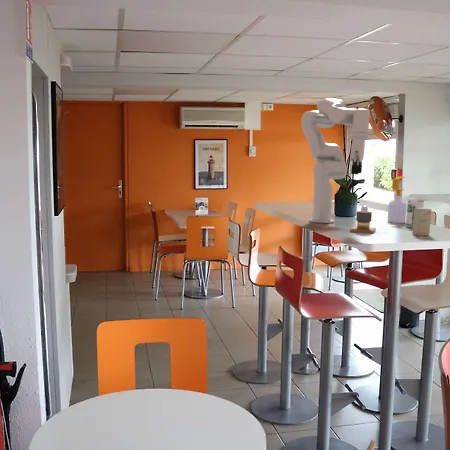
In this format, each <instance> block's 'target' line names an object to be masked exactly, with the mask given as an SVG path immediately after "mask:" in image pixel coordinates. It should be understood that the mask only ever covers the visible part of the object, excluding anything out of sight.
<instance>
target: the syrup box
mask: <svg viewBox="0 0 450 450" xmlns="http://www.w3.org/2000/svg"><path fill="white" fill-rule="evenodd" d="M424 205H425V199H422V198H415V197H409V198H407V204H406V218H405V227H406V228H412V229H413V220H414V208H424Z"/></svg>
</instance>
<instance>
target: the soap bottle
mask: <svg viewBox="0 0 450 450" xmlns="http://www.w3.org/2000/svg"><path fill="white" fill-rule="evenodd" d="M404 178H405V176H401V175H400V176H396V177H394V178H393V179H392V183H391V184H392V185H391V188H392V190H394V191H395V192H396V194H394V198H393V199H392V200H390V201H389V203H388V210H387V222H388V223H391V224H393V223H394V224H406V216H407V203H406V201H405V200H403V199H402V196H403V195H402V194H401V192H402V191H405V189H403V188H399V183H400V180H402V179H404Z"/></svg>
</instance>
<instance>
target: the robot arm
mask: <svg viewBox="0 0 450 450" xmlns="http://www.w3.org/2000/svg"><path fill="white" fill-rule="evenodd" d="M370 114H371V111H370V109H368V108H350V107H349V108H347V106H346V103H345V102H344V100H342V99H338V98H323V99H320V100H319V101H318V103H316V110H307V111H305V112H303V114H302V116H301V120H300V121H301V122H300V123H301V129H302V132H303V135H304V136H305V138H306V140H307V143H308V147H309V150H310V154H311V158H312V159H313V160H314V161H315V163H314V164H313V166H312V167H313V168H312V173H313V201H312V202H313V203H312V217H311V218H309V220H308V221H309V222H311V223H316V224H317V223H319V224H332V223H334V222H335V220H334V219H332V211H333V210H332V208H333V185H332V182H331V180H342V179H344V178H346V176H347V172H348V169H347V164H346V160H345V157H344V154H343V150H342V149H341V147H340V145H338V144H336V143H328V142H326V140H325V138H324V135H323V133H322V132H321V130H319V129H318V128H324V129H326V128H327V129H328V128H332V127H334V126H335V125H345V126H346V125H347V126H351V132H350V140H352V142H351V149H350V156H349V160H350V161H352V162H351V163H352V164H351V168H350V174H351V175H359V174H362V171H363V170H362V168H363V161H364V157H365V156H364V155H365V148H366V147H365V145H366V141H367V140H368V138H369V129H370V128H369V127H370Z"/></svg>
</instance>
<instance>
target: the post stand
mask: <svg viewBox="0 0 450 450" xmlns="http://www.w3.org/2000/svg"><path fill="white" fill-rule="evenodd" d="M360 208H361V209H360V211H361V212H362V213H368V212H369V208H368V206H366V205H363V206H361V207H360ZM370 224H371V222H362V221H356V226H355V225H353V226H352V227H351V228H350V230H349V233H358V234H371V235H373V234H374V233H376V227H370Z"/></svg>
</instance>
